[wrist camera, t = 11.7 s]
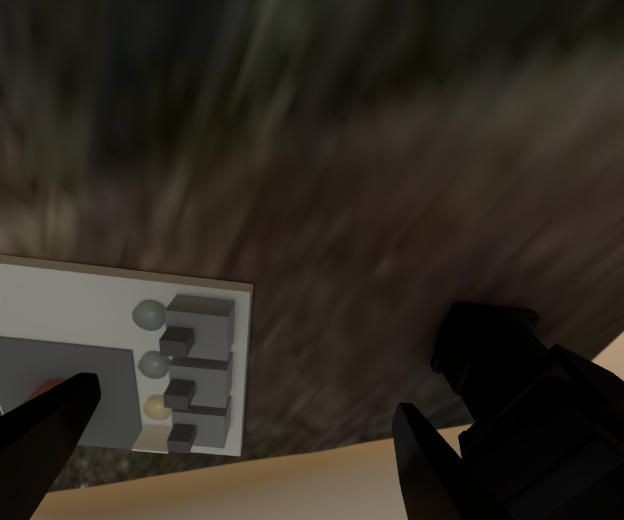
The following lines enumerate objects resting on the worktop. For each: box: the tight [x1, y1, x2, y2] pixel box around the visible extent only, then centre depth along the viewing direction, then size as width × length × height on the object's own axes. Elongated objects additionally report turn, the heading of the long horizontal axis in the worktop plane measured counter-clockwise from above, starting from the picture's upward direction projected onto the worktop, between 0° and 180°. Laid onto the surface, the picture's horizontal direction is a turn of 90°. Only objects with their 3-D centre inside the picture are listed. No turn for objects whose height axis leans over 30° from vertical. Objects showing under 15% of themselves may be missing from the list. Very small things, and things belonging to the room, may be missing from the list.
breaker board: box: [0, 255, 253, 456], centre depth 23 cm, size 20×17×5 cm
